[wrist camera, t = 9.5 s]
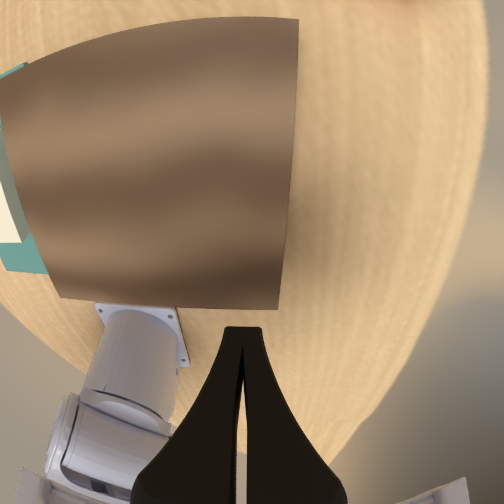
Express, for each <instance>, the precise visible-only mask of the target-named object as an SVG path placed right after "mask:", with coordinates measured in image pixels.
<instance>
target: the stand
mask: <svg viewBox="0 0 504 504" xmlns="http://www.w3.org/2000/svg"><path fill="white" fill-rule="evenodd" d="M298 32H299V19H288V18H273V17H218V18H203V19H192V20H183V21H175V22H168V23H161V24H155V25H150V26H144V27H139V28H135V29H130V30H126V31H121V32H117V33H113V34H110V35H106V36H102V37H99V38H96V39H92V40H89V41H86V42H83V43H80V44H77V45H74V46H71V47H68V48H66V49H63V50H60V51H58V52H55V53H53V54H50V55H48V56H46V57H43V58H41V59H39V60H36V61H34V62H32V63H30V64H28V65H26V66H24V67H22V68H20V69H18V70H16V71H14V72H12V73H10V74H8V75H6V76H4V77H2V78H1V79H0V118H1V125H2V131H3V136H4V142H5V147H6V151H7V156H8V160H9V164H10V168H11V172H12V176H13V180H14V184H15V187H16V190H17V194H18V197H19V200H20V203H21V206H22V209H23V212H24V215H25V218H26V221H27V224H28V227H29V229H30V232H31V234H32V237H33V240H34V242H35V245H36V247H37V249H38V252H39V254H40V256H41V259H42V261H43V263H44V265H45V268H46V270H47V272H48V274H49V276H50V278H51V280H52V282H53V285H54V287H55V289H56V291H57V292H58V294H59V296H60V298H68V299H77V300H87V301H97V302H108V303H119V304H132V305H146V306H162V307H180V308H203V309H240V310H278V303H279V294H280V285H281V276H282V266H283V256H284V246H285V236H286V225H287V214H288V203H289V191H290V178H291V165H292V151H293V137H294V121H295V104H296V84H297V61H298Z"/></svg>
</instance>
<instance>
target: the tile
mask: <svg viewBox="0 0 504 504" xmlns="http://www.w3.org/2000/svg"><path fill="white" fill-rule="evenodd" d="M30 233H31V232H30V229H29V227H28V224H27V221H26V218H25V215H24V212H23V209H22V206H21V203H20V200H19V197H18V194H17V190H16V187H15V184H14V180H13V176H12V172H11V168H10V164H9V160H8V156H7V151H6V147H5V142H4V136H3V131H2V127H1V128H0V243H22V242H23V241H24V240H25V238H26V237H27V236H28V235H29V234H30Z"/></svg>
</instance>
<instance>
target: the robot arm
mask: <svg viewBox="0 0 504 504" xmlns="http://www.w3.org/2000/svg"><path fill="white" fill-rule="evenodd" d="M94 306H95V308H96V310H97V312H98V314H99V316H100V318H101V320H102V322H103V324H104V326H105V328H104V331H103V333H102V336H101V338H100V341H99V343H98V346H97V348H96V351H95V354H94V356H93V359H92V362H91V365H90V367H89V370H88V373H87V376H86V379H85V382H84V385H83V388H82V391H81V393H80V394H79V395H77V394H74V393H70V395H65V396H64V397H63V398H62V401H61V403H60V406H59V408H58V411H57V414H56V417H55V420H54V423H53V426H52V430H51V433H50V437H49V441H48V446H47V454H46V458H45V467H44V470H45V472H46V477H47V478H46V477H42V476H40V475H38V474H36V473H34V472H32V471H30V470H28V469H26V468H24V467H21V470H20V475H19V480H18V486H17V491H16V496H15V503H14V504H236V456H237V426H238V417H239V409H240V401H241V392H242V384H243V383H244V395H245V408H246V419H247V504H347V503H348V501H347V496H346V492H345V490H344V487H343V485H342V483H341V481H340V480H339V478H338V477H337V476H336V475H335V474H334V473H333V472H332V470H331V469H330V468H329V467H328V466H327V464H326V463H325V462H324V461H323V459H322V458H321V457H320V455H319V454H318V453H317V452H316V450H315V449H314V447H313V446H312V444H311V443H310V441H309V440H308V438H307V437H306V435H305V434H304V433H303V431H302V429H301V428H300V426H299V424H298V423H297V421H296V419H295V418H294V416H293V414H292V412H291V410H290V408H289V406H288V404H287V402H286V400H285V398H284V396H283V394H282V392H281V390H280V388H279V385H278V383H277V380H276V378H275V375H274V373H273V370H272V367H271V365H270V362H269V359H268V355H267V352H266V348H265V345H264V340H263V335H262V329H261V328H260V327H234V326H227V327H226V328H225V329H224V334H223V338H222V341H221V345H220V348H219V350H218V353H217V356H216V359H215V361H214V363H213V366H212V368H211V370H210V373H209V375H208V377H207V379H206V381H205V383H204V385H203V387H202V389H201V391H200V393H199V395H198V397H197V398H196V400H195V402H194V404H193V405H192V407H191V409H190V410H189V412H188V413H187V415H186V417H185V418H184V420H183V421H182V422H181V424H180V425H179V427H178V428H177V430H176V431H175V432H174V434H171V433H170V429H171V423H168V421H169V419H170V418H171V416H172V414H173V410H174V404H175V397H176V391H177V385H178V379H179V373H180V367H189V366H190V361H189V357H188V354H187V350H186V347H185V343H184V340H183V336H182V332H181V329H180V325H179V321H178V317H177V313H176V310H175V308H174V307H162V306H146V305H132V304H119V303H108V302H97V301H96V302H95V304H94ZM396 504H470V500H469V494H468V488H467V483H466V478H465V477H463V478H460V479H458V480H455V481H453V482H451V483H449V484H446V485H442V486H440V487H437V488H435V489H432V490H429V491H427V492H424V493H422V494H419V495H417V496H416V497H414V498H411V499H408V500H405V501H402V502H400V503H396Z"/></svg>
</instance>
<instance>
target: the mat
mask: <svg viewBox="0 0 504 504" xmlns="http://www.w3.org/2000/svg"><path fill="white" fill-rule="evenodd" d="M26 65H27V62H26V63H23V64H21V65H19V66H17V67H15V68H13V69H11V70H9V71H7V72H5V73H4V74H2V75H0V79H1V78H2V77H4V76H6V75H8V74H10V73H12V72H14V71H16V70H18V69H20V68H22V67H24V66H26ZM1 127H2V125H1V118H0V128H1ZM0 258H1V260H2V262H3V264H4V266H5V268H6V270H7V271H15V272H27V273H39V274H48V272H47V270H46V268H45V265H44V263H43V261H42V259H41V256H40V254H39V252H38V249H37V247H36V245H35V242H34V240H33V237H32V234H31V233H30V234H29V235H28V236H27V237H26V238H25V240H24V241H23V242H22V243H0Z"/></svg>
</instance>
